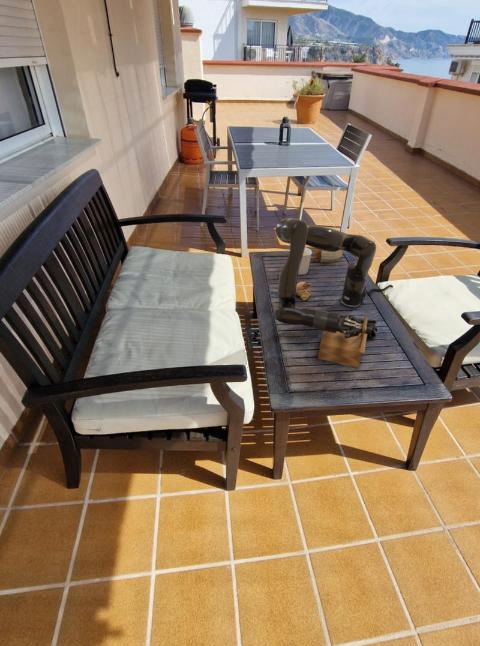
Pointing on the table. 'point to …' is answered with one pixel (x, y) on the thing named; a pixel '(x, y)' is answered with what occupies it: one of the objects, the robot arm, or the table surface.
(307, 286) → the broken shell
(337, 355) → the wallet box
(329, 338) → the box lid
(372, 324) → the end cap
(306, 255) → the candle holder
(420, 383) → the table surface
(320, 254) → the nautilus
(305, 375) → the table surface
